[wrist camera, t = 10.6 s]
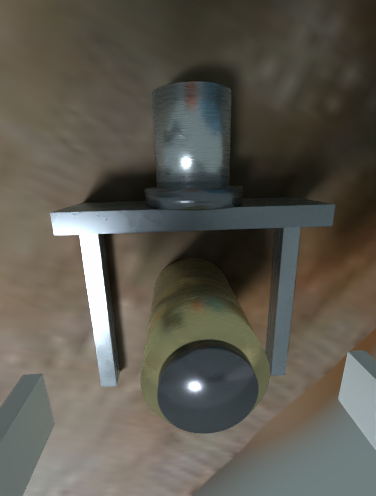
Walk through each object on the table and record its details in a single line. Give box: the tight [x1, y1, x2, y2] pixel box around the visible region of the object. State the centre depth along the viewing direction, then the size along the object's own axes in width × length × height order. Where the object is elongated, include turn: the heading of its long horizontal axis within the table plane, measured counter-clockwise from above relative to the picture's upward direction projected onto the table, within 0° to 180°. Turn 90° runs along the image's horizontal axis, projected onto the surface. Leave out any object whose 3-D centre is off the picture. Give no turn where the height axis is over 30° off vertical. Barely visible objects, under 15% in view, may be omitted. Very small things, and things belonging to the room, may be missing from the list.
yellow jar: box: [141, 258, 270, 433], centre depth 16 cm, size 6×6×10 cm
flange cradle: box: [50, 81, 335, 387], centre depth 17 cm, size 21×15×6 cm
